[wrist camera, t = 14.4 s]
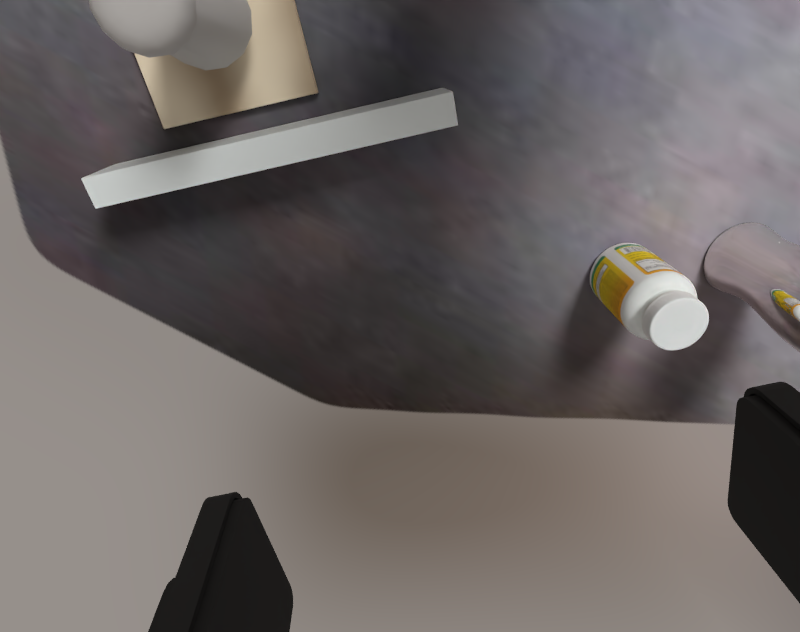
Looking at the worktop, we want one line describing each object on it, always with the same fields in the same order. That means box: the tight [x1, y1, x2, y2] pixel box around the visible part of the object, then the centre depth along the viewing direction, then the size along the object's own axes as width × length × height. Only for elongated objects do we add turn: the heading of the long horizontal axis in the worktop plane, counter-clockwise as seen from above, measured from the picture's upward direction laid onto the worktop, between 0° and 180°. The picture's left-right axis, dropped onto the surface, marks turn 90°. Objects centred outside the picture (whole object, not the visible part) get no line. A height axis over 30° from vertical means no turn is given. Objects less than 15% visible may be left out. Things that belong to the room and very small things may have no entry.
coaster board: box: [134, 0, 319, 129], centre depth 34 cm, size 11×11×1 cm
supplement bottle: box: [590, 243, 709, 351], centre depth 39 cm, size 5×5×10 cm
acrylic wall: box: [81, 87, 458, 209], centre depth 35 cm, size 24×2×5 cm, turn 102°
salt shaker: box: [89, 0, 252, 70], centre depth 28 cm, size 6×6×13 cm
